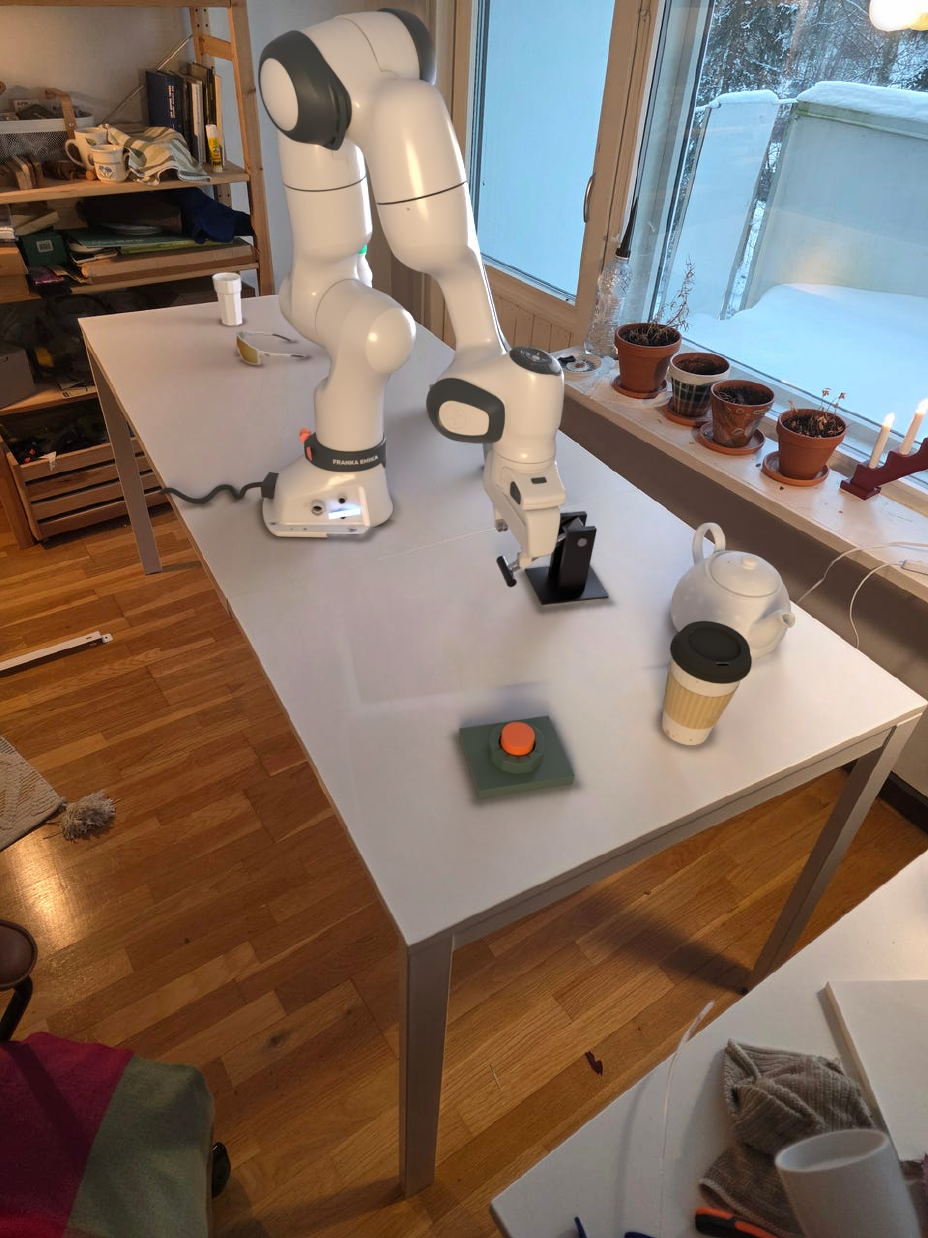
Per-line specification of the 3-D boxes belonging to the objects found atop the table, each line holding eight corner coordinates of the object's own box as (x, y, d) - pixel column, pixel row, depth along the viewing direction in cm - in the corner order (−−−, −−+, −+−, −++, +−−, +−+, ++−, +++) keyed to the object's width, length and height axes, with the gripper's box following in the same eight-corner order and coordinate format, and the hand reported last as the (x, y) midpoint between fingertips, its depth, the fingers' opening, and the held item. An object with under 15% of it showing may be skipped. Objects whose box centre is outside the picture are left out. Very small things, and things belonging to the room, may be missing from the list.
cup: (238, 315, 207) (232, 270, 200) (250, 323, 203) (245, 278, 196) (214, 319, 203) (207, 274, 196) (225, 328, 200) (219, 282, 192)
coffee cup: (711, 701, 111) (742, 618, 101) (731, 756, 103) (767, 673, 93) (641, 699, 110) (665, 616, 100) (656, 755, 102) (684, 671, 93)
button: (505, 758, 97) (507, 749, 95) (496, 734, 99) (498, 724, 98) (537, 753, 97) (539, 744, 96) (527, 729, 100) (529, 719, 99)
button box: (478, 800, 95) (480, 781, 93) (458, 737, 103) (460, 718, 101) (572, 784, 98) (577, 766, 96) (547, 724, 105) (550, 705, 103)
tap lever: (510, 590, 121) (504, 580, 120) (499, 567, 126) (493, 557, 124) (593, 543, 119) (587, 532, 117) (579, 520, 123) (573, 510, 122)
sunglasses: (228, 346, 191) (228, 325, 188) (289, 346, 198) (290, 326, 195) (245, 369, 182) (246, 347, 179) (309, 369, 189) (310, 348, 186)
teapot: (797, 617, 126) (827, 545, 117) (767, 686, 113) (799, 612, 105) (683, 575, 132) (704, 504, 124) (643, 636, 120) (663, 563, 111)
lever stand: (540, 610, 123) (551, 541, 115) (523, 574, 130) (533, 507, 122) (607, 602, 126) (623, 535, 117) (587, 568, 132) (600, 502, 124)
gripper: (476, 433, 119) (469, 512, 128) (528, 507, 105) (516, 589, 114) (515, 429, 121) (506, 507, 130) (572, 501, 107) (557, 583, 116)
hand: (511, 546), depth 122 cm, fingers open, 8 cm apart
